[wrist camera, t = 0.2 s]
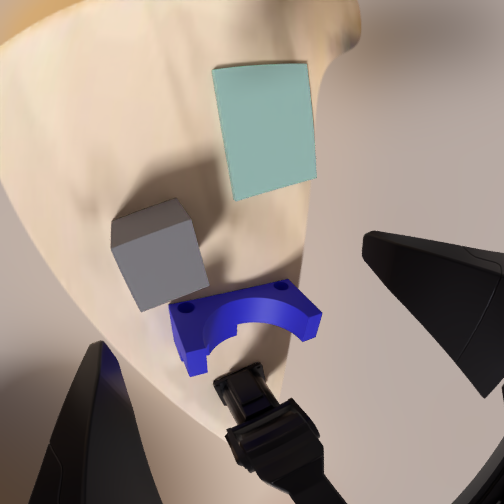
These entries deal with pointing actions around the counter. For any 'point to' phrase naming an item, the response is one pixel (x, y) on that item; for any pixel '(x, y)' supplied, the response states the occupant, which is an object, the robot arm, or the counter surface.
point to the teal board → (266, 126)
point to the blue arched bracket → (238, 318)
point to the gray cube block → (158, 254)
